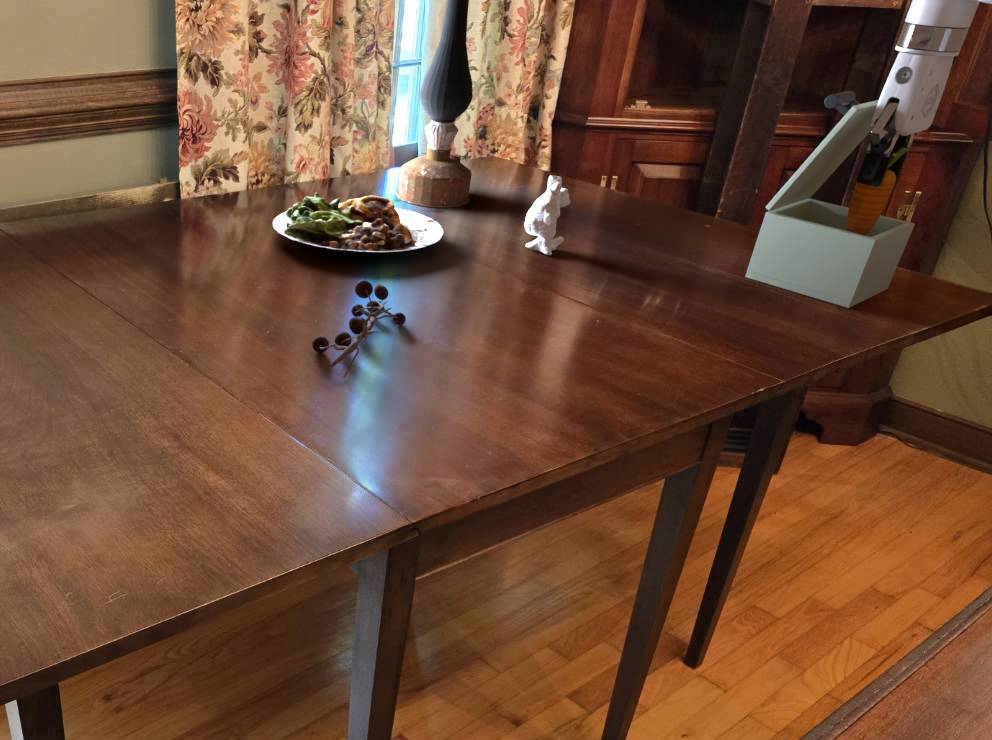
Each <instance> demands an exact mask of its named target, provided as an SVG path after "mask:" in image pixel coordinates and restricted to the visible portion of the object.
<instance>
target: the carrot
mask: <svg viewBox="0 0 992 740" xmlns="http://www.w3.org/2000/svg"><path fill="white" fill-rule="evenodd" d="M906 152H908V151H907V149H906V148H904V147H903V148H901V149H900V150H899V151H898V152H896V154H895V153H893V154H892V155H891V156H890V157H892V158H891V160H890V163H889V166H888V168H889V167H890V166H891V165H892V164H893V163H894V162H895V161H896V160H897V159H899V158H900V157H901V156H902V155H903V154H904V153H906ZM888 168H887V171H886V173H885V176H884V178H883V181H882V184H881V185H880V186H878V187H874V186H870V185H865V184H861V183H858V182H857V181H856V182H855V183H856V184H855V186H854V189H853V192H852V195H851V199H850V202H849V207H848V208H849V211H848V217H847V223H846V231H849V232H853V233H857V234H861V235H865V236H866V235H867V234H868V233H869V232H870V230H871V229H872V228H873V226H874V224H875V223H876V221H877V220H878V218H879V216H880V215H881V216H882V213H883V211H884V209H885V207H886V205H887V203H888V200H889V199H890V196H891V194H892V193H893V189H894V186H895V184H896V182H897V180H896V175H895V173H894V172H893V171H892V170H889V169H888Z"/></svg>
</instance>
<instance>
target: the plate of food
mask: <svg viewBox="0 0 992 740" xmlns="http://www.w3.org/2000/svg"><path fill="white" fill-rule="evenodd" d="M340 201H341V198H340V197H338V198H336V199H332V201H330V202H328V201H326V199H325V198H324V197H321V196H320V194H319V193H318V192H315V193H314V196H304V198H303V200H302V202H301V201H299V202H294V203H293V205H292V207H289V208H288V209H287V210H285V211H283V212H281V213H280V214H279V215H277V216H276V217H275V218H273V221H272V227H273V229H274V230H275V231H276V232H277V233H278V234H280V235H282V236H284V237H286V238H287V239H290V240H292V241H294V242H298V243H302V244H306V245H311V246H314V247H317V248H326V249H327V250H329V251H331V250H332V251H351V252H352V251H353V252H363V253H364V252H366V253H393V252H405V251H411V250H419V249H421V248H426V247H427V246H431V245H433V244H436V243H438V242H439V241H440V240H441V239H442V236H443V235H444V229H443V226H441V224H440V223H438V221H436V220H434V219H433V218H432V217H431V218H430V217H428V216H426V215H425V214H421V213H418V212H416V211H412V210H408V209H404V208H399V207H395V203H393V201H391V200H390V199H388V198H386V197H382V196H378V195H372V194H369V195H367V196H362V197H359V198H358V197H356V198H350V199H347V200H346V201H344V202H340Z"/></svg>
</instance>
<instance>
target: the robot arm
mask: <svg viewBox="0 0 992 740" xmlns="http://www.w3.org/2000/svg"><path fill="white" fill-rule="evenodd" d="M980 3H984V4H991V5H992V0H912V1H911V4H910V6H909V9H908V11H907V14H906V17H905V19H904V23H903V25H902V27H901V31H900V34H899V37H898V39H897V42H896V44H895V46H894V50H895V51H897V52H898V54H897V56H896V58H895V60H894V63H893V65H892V67H891V69H890V72H889V74H888V76H887V78H886V82H885V84H884V85H883V88H882V90H881V93H880V96H879V98H878V100H879V101H878V103H877V106H876V109H875V111H874V114H873V118H872V121H871V127H872V130H871V131H870V133H869V134H870V140H869V144H868V147H867V148H866V153H865V156H864V158H863V161H862V164H861V167H860V169H859V172H858V174H857V177H856V183H857V182H858V183H861V184H865V185H870V186H874V187H878V186H880V185H881V184H882V181H883V178H884V176H885V173H886V171H887V168H888V166H889V163H890V160H891V158H892V157H890V156H891V155H892V154H893V153H895V154H896V152H898V151H899V150H900V149H901V148H903V147H904V148H906V149H907V152H906V153H904V154H903V155H902V156H901V157H900V158H899V159H897V160H896V161H895V162H894V163H893V164H892V165H891V166H890V167H889V168H888V169H889V170H892V171H893V172H894V173H895V175H896V181H897V180H898V179H899V177H900V175H901V171H902V169H903V167H904V165H905V161H906V160H907V156H908V155H909V151H910V150H911V147H912V145H913V141H914V139H915V136H916V135H917V133H920V132H923V131H926V130H928V129H929V128H930V127H931V126H932V124H933V121H934V119H935V116H936V113H937V111H938V109H939V105H940V103H941V100H942V97H943V94H944V91H945V89H946V86H947V83H948V80H949V76H950V73H951V70H952V67H953V62H954V57H958V56H959V54H960V52H961V50H962V48H963V45H964V42H965V39H966V37H967V35H968V32H969V30H970V27H971V25H972V22H973V20H974V17H975V15H976V12H977V11H978V7H979V5H980ZM888 128H890V129H891V130H887V129H888Z"/></svg>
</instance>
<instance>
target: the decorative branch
mask: <svg viewBox="0 0 992 740" xmlns="http://www.w3.org/2000/svg"><path fill="white" fill-rule="evenodd" d="M354 292H355V294H356V296H357V297H359V298H361V299H368V300H369V301H367V303H366V305H365V307H364V306H363V304H360V303H356V304H354V305H353V306H351V315H352V317H351V318H350V319H349V321H348V328H349V330H350V332H351V333H353V334H354V336H352V337H351V334H350V333H349V332H347V331H340V332H338V333H337V334H336V335H335V337H334V343H331V344H330V342H329V340H328V338H327V337H326V336H325V335H318V336H316V337H314V339H313V340H312V343H311V345H312V349H313V350H314V351H315V352H316V353H318V354H322V353H325V352H326V351H328V349H329V348H331V347H333V348H334V349H335V350H336V351H342V352H340V354H339V355H337V356H336V357H335V359H333V360H332V362H331V363H330V364H329V368H333V367H335V366H336V365H338V364H339V363H340V362H342V361H343V360H345V358H347V357H348V356H350V355H351V354H352V353H354V352H355V351H356V353H355V355H354V356H353V358H352V359H351V361H350V363H349V364H348V367H347V368H346V370H345V372H344V374H343V378H342V379H345V378H346V376H347V375H348V372H349V370H350V368H351V366H352V364H353V363H354V362H355V359H356V358H357V356H358V355H359V352H360V351H359V344H360V343H361V342H362V340H364V346H365V347H367V336H368V335H371V334H374V333H376V332H379V331H380V330H379V329H373V328H374V327H375V324H376V322H380V321H381V319H383V318H392V322H393V324H394V325H396V326H403V325H404V324H405V323H406V321H407V320H406V315H405V314H404V313H402V312H399V311H398V312H395V313H394V314H393V313H392V312H390V310H392V307H389V308H385V305H386V304H387V303H388V300H387V298H388V297H389V289H388V288H387V287H386V286H385V285H383V284H381V283H379V284H378V283H377V284H376V285H375V286H374V287H373V284H372V283H371V282H370V281H369V280H366V279H361V280H359V281H358V282H356V284H355V285H354ZM372 294H373V295H374V296H375V297H376V299H378V300H380V301H377V300H372V299H371V296H372ZM385 300H386V301H385ZM383 301H385V302H384V303H382V302H383ZM366 310H367V311H366ZM384 313H385V314H384ZM382 314H383V315H382ZM363 315H364V316H366V317H367V318H364V317H362V316H363ZM380 315H381V316H380Z"/></svg>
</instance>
